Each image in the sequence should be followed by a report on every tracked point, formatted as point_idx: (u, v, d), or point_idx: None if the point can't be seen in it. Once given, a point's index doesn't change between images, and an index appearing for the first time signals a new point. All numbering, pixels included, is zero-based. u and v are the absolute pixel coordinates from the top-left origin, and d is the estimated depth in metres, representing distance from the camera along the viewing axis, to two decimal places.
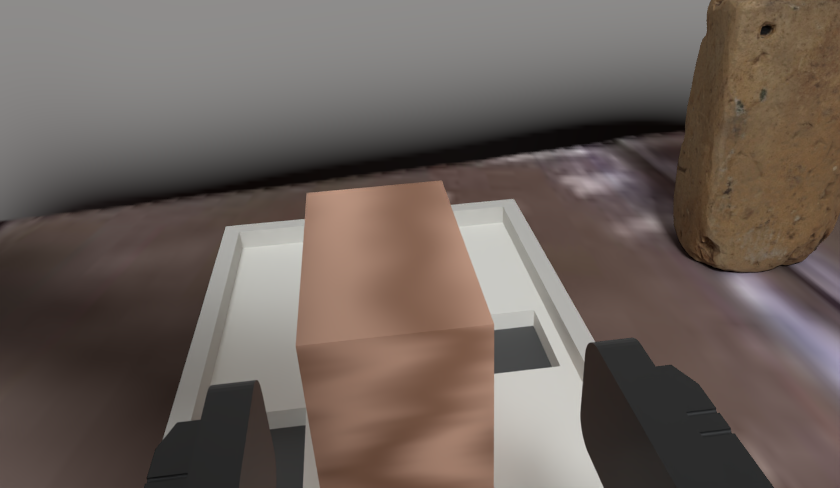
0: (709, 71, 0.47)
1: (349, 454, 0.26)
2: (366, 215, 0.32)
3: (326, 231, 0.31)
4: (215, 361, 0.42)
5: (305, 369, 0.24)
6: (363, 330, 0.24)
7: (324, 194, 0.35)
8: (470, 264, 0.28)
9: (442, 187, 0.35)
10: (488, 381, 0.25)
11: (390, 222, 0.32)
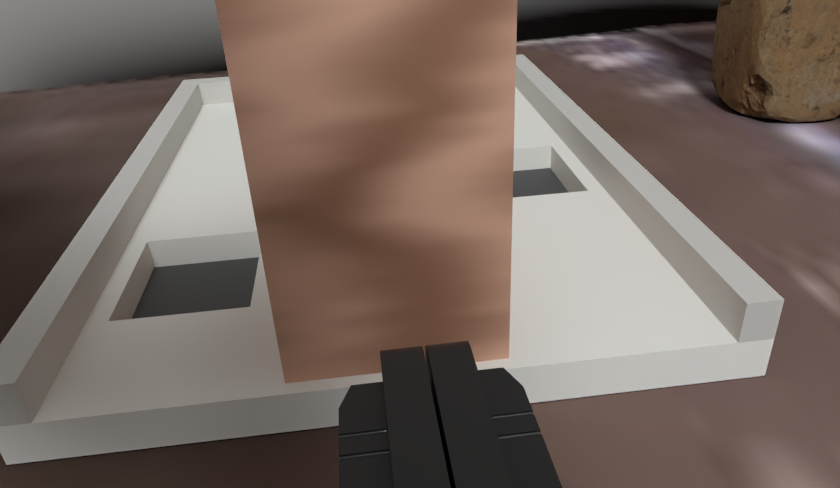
0: None
1: (299, 181, 0.18)
2: None
3: None
4: (154, 193, 0.34)
5: (225, 13, 0.16)
6: None
7: None
8: None
9: None
10: (507, 57, 0.17)
11: None
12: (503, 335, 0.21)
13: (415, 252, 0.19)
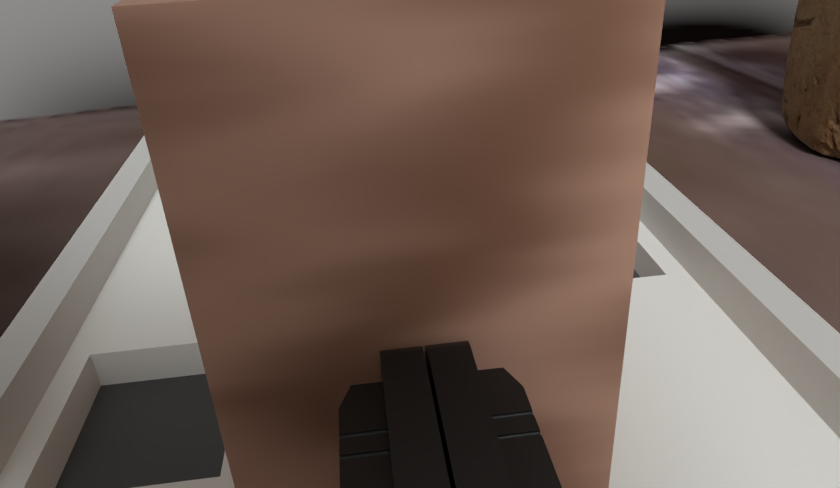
0: None
1: (284, 350, 0.11)
2: None
3: None
4: (108, 275, 0.27)
5: (149, 92, 0.09)
6: None
7: None
8: None
9: None
10: (633, 155, 0.10)
11: None
12: None
13: None
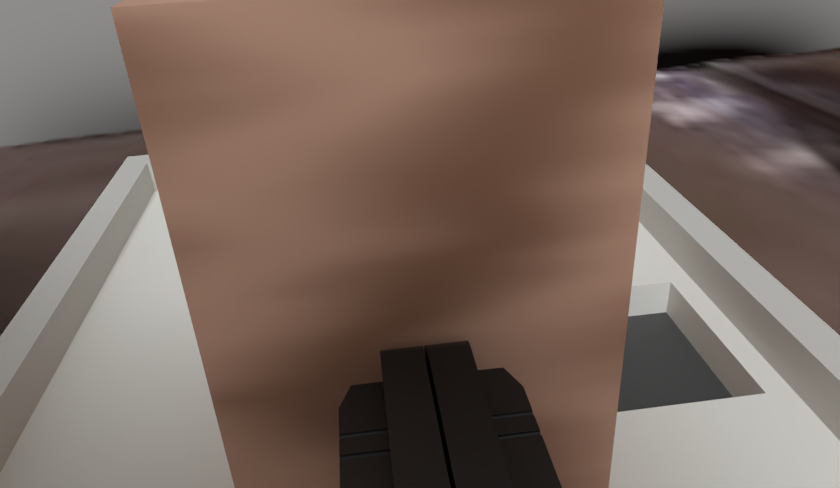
0: None
1: (285, 350, 0.11)
2: None
3: None
4: (47, 384, 0.21)
5: (147, 93, 0.09)
6: None
7: None
8: None
9: None
10: (632, 155, 0.10)
11: None
12: None
13: None
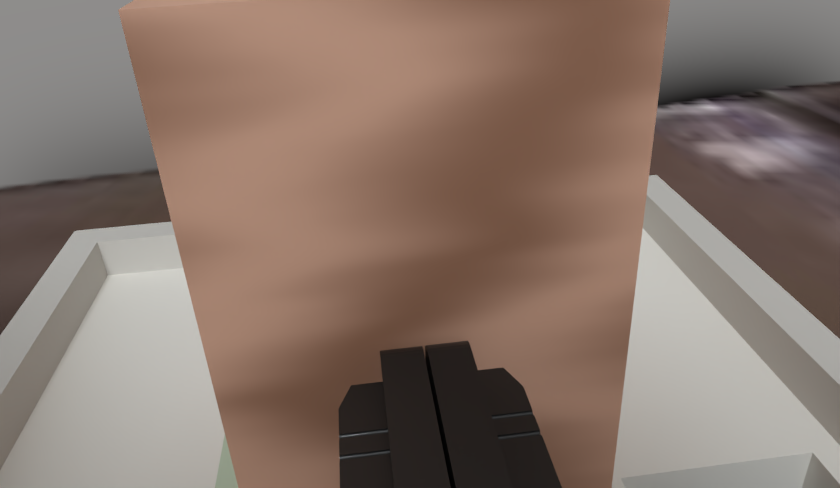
0: None
1: (289, 352, 0.11)
2: None
3: None
4: None
5: (154, 95, 0.09)
6: None
7: None
8: None
9: None
10: (637, 158, 0.10)
11: None
12: None
13: None
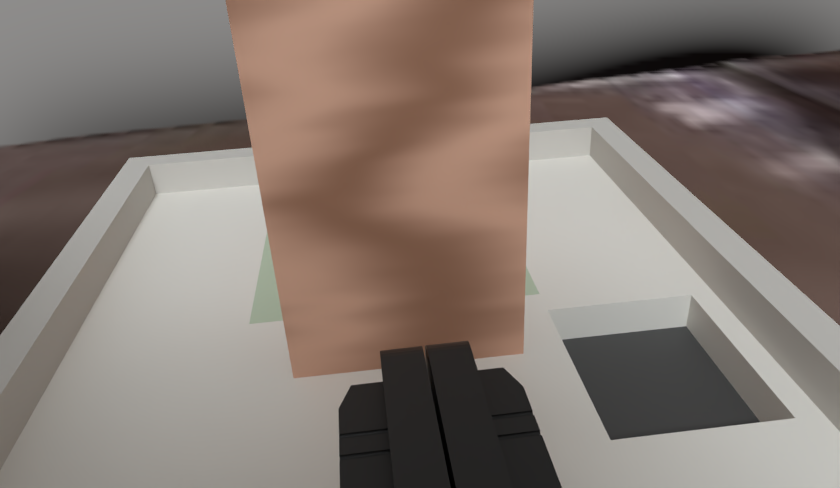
0: None
1: (308, 168, 0.17)
2: None
3: None
4: (38, 399, 0.20)
5: None
6: None
7: None
8: None
9: None
10: (523, 40, 0.16)
11: None
12: (517, 329, 0.20)
13: (427, 243, 0.19)
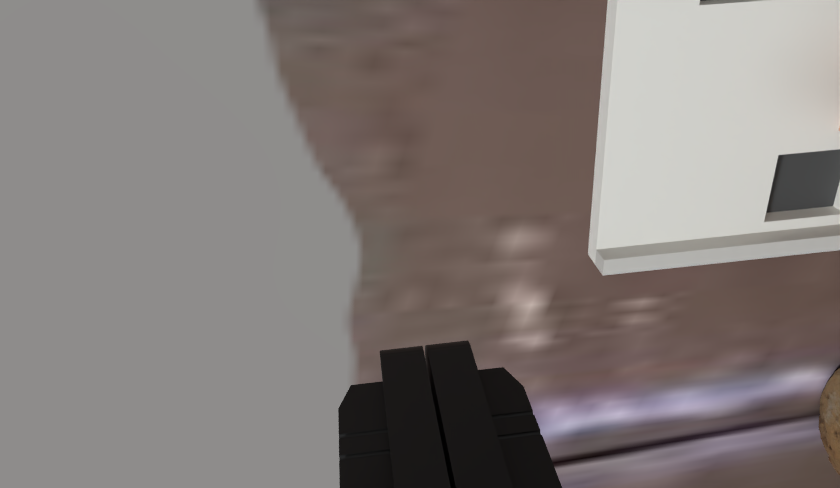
0: None
1: None
2: None
3: None
4: None
5: None
6: None
7: None
8: None
9: None
10: None
11: None
12: None
13: None
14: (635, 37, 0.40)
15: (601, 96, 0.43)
